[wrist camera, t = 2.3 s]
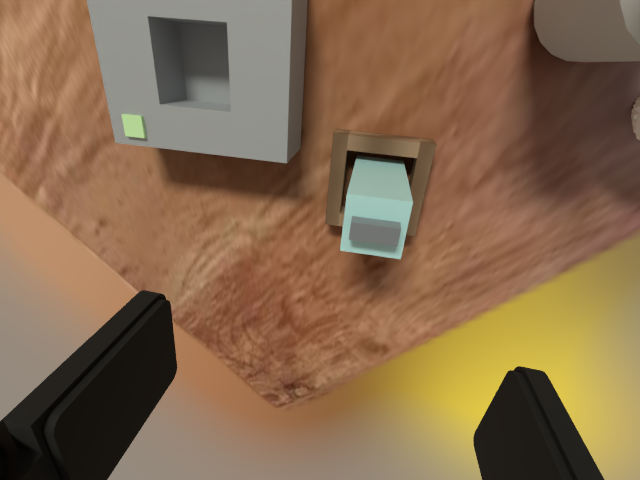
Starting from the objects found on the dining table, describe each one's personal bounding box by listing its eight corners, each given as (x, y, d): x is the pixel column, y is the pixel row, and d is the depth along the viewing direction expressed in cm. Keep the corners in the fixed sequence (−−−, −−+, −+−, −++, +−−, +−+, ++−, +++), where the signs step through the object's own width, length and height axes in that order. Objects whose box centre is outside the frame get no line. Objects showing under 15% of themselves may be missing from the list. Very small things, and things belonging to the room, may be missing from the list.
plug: (403, 160, 29) (414, 208, 19) (395, 204, 31) (401, 267, 21) (356, 155, 30) (345, 199, 20) (351, 198, 31) (338, 257, 22)
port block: (308, -20, 24) (291, -39, 20) (300, 148, 30) (285, 164, 25) (128, -31, 26) (72, -52, 21) (152, 131, 32) (112, 143, 27)
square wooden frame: (432, 139, 28) (436, 144, 26) (412, 227, 32) (414, 236, 30) (336, 129, 29) (333, 133, 27) (328, 215, 33) (325, 224, 31)
